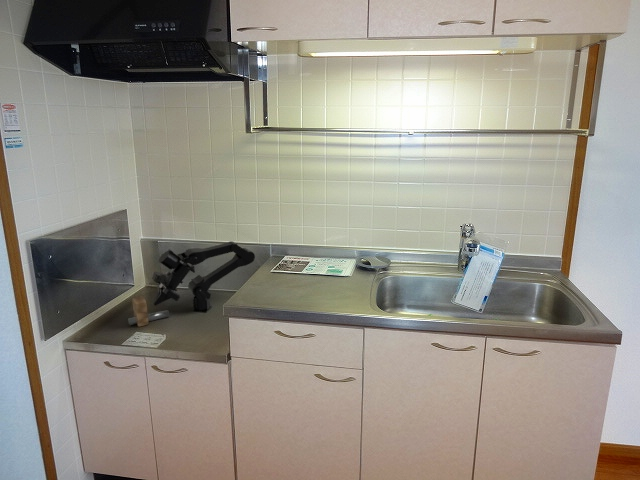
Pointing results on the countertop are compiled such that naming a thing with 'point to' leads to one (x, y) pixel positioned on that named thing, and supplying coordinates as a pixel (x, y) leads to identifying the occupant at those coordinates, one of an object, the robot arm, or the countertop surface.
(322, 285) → the countertop surface
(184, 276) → the robot arm
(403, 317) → the countertop surface
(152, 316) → the steel pipe
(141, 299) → the rectangular wooden block
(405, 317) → the countertop surface
